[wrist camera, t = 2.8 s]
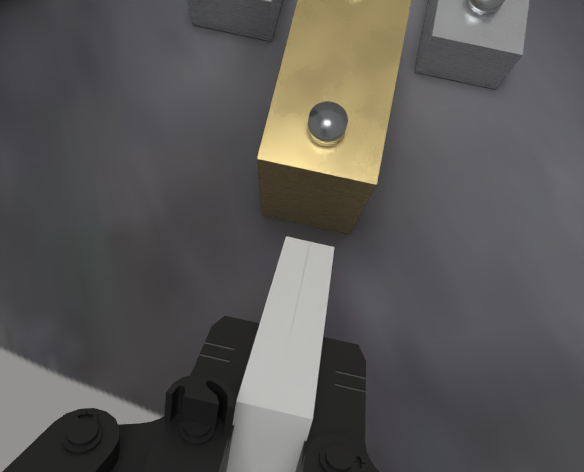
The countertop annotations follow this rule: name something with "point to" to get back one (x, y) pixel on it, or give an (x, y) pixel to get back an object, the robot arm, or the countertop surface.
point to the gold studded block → (331, 111)
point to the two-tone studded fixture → (434, 41)
